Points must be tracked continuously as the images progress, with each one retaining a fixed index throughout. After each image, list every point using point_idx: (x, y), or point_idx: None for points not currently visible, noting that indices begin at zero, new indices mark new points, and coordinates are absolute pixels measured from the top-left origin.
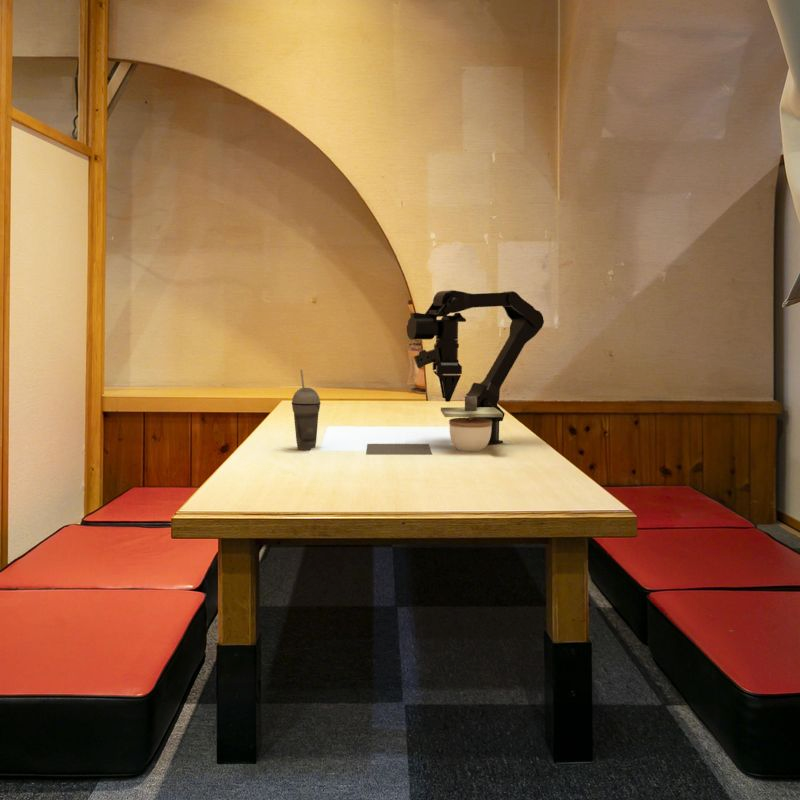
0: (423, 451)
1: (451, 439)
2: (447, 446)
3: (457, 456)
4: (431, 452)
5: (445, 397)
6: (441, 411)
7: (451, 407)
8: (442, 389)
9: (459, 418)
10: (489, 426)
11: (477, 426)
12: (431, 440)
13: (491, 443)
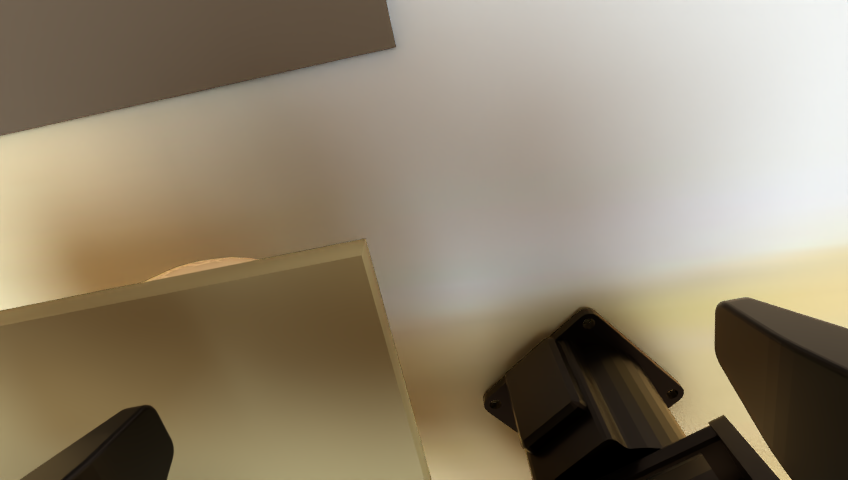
0: (39, 63)
1: (175, 267)
2: (389, 188)
3: (43, 287)
4: (27, 127)
5: (64, 457)
6: (230, 266)
7: (394, 378)
8: (841, 393)
9: None
10: None
11: None
12: (653, 31)
13: (508, 422)
